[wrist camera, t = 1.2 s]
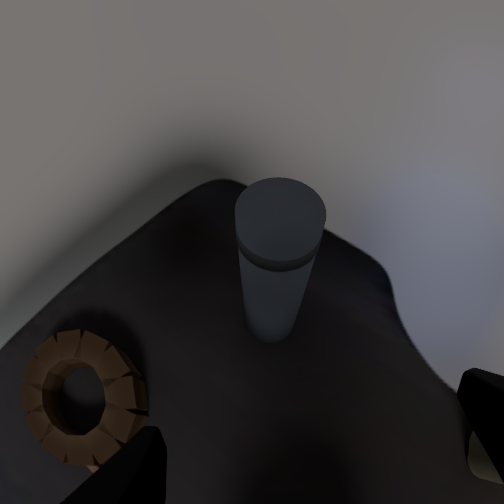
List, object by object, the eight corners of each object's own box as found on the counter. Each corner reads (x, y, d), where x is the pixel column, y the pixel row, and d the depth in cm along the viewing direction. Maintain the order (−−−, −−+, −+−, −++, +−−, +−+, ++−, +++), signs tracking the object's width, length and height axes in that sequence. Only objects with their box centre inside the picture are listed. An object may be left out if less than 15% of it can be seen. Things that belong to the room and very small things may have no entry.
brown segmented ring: (159, 461, 17) (147, 465, 15) (47, 460, 16) (28, 460, 14) (138, 332, 22) (126, 321, 20) (38, 346, 21) (21, 337, 19)
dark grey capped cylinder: (301, 336, 22) (341, 238, 11) (251, 348, 22) (244, 258, 11) (287, 292, 24) (308, 171, 13) (240, 302, 24) (225, 184, 13)
